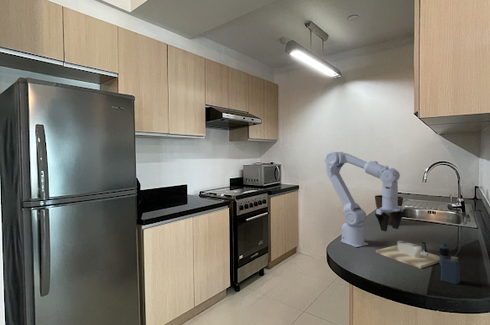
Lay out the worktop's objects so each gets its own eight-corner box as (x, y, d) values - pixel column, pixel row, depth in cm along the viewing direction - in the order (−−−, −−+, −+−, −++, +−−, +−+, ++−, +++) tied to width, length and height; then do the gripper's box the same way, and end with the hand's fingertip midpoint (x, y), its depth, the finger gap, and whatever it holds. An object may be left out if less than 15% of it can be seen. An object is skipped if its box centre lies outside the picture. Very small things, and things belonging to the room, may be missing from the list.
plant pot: (403, 222, 162) (403, 196, 162) (402, 228, 150) (402, 199, 149) (376, 219, 170) (376, 194, 170) (373, 224, 158) (373, 197, 157)
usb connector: (395, 251, 111) (395, 241, 111) (400, 249, 113) (400, 240, 113) (424, 260, 101) (424, 250, 101) (429, 258, 103) (429, 248, 103)
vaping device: (439, 277, 89) (439, 241, 89) (459, 282, 86) (460, 245, 86) (438, 280, 87) (439, 243, 87) (459, 285, 84) (460, 247, 84)
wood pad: (375, 252, 113) (375, 250, 113) (399, 246, 120) (399, 244, 120) (420, 268, 97) (420, 265, 97) (444, 260, 104) (444, 257, 104)
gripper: (387, 200, 106) (387, 234, 106) (409, 197, 113) (409, 229, 113) (371, 197, 112) (371, 230, 113) (393, 195, 119) (393, 225, 119)
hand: (389, 229), depth 113 cm, fingers open, 7 cm apart
